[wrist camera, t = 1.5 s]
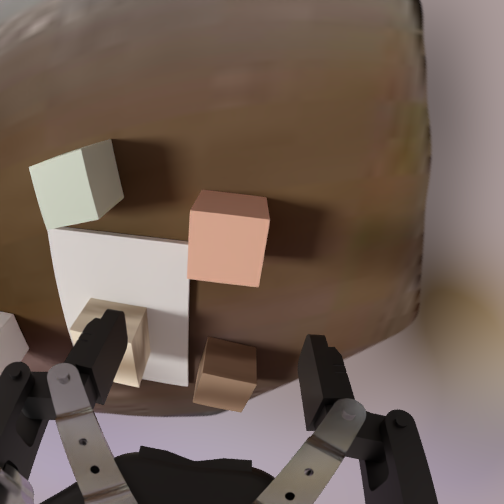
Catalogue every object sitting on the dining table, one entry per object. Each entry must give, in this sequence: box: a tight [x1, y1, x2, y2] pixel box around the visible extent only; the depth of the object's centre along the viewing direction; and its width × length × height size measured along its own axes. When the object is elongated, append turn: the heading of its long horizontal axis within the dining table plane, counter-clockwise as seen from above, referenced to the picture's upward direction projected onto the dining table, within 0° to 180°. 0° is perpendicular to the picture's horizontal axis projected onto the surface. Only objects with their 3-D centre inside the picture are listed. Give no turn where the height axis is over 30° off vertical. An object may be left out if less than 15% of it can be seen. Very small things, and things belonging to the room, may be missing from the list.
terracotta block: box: [187, 190, 270, 287], centre depth 23 cm, size 5×5×5 cm
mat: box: [48, 227, 190, 387], centre depth 29 cm, size 18×14×1 cm
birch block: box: [69, 298, 151, 387], centre depth 27 cm, size 6×6×5 cm
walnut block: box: [193, 336, 257, 412], centre depth 29 cm, size 5×5×5 cm
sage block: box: [29, 139, 124, 230], centre depth 21 cm, size 5×5×5 cm
